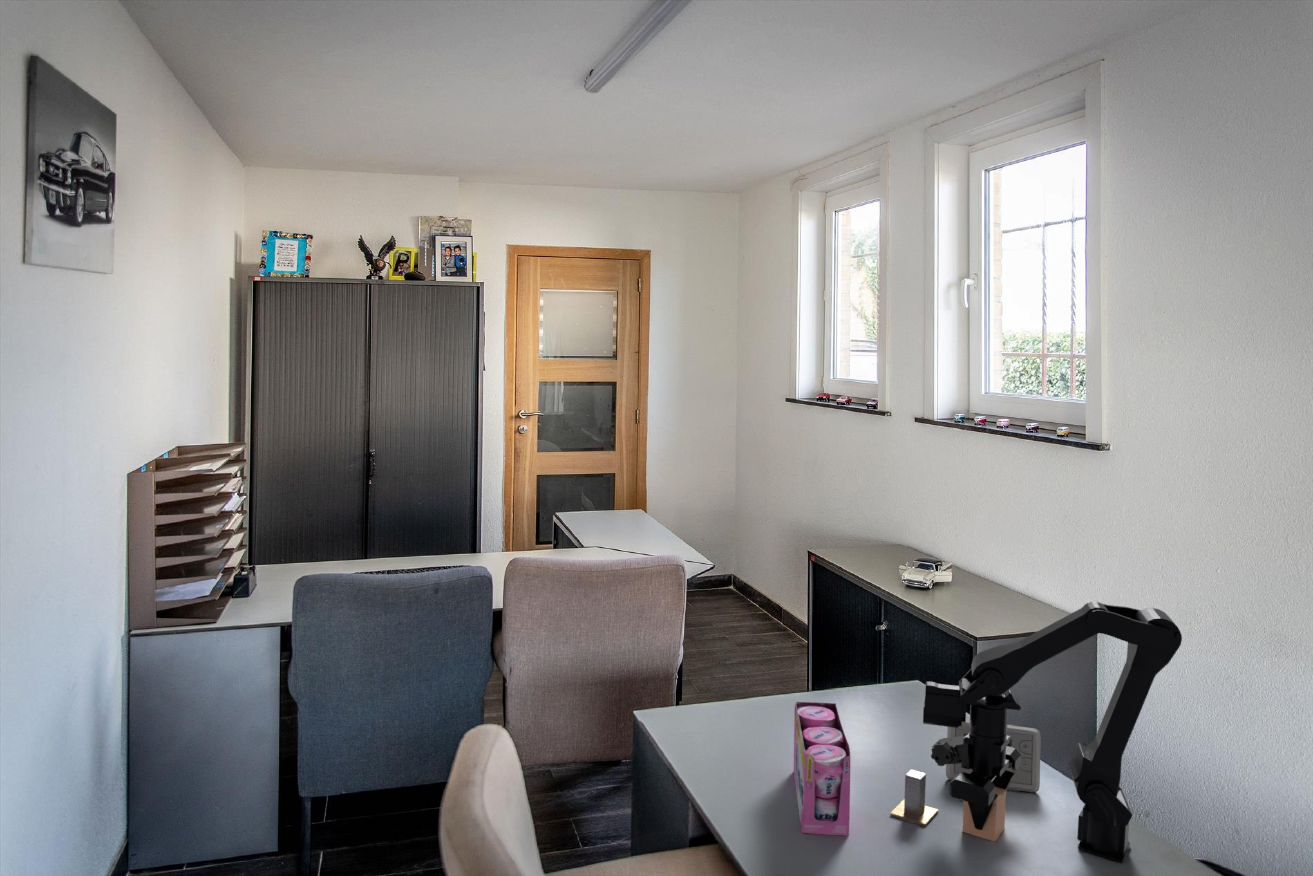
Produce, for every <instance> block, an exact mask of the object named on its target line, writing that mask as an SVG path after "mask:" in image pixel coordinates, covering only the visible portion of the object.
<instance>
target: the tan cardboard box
mask: <svg viewBox="0 0 1313 876" xmlns="http://www.w3.org/2000/svg"><path fill="white" fill-rule="evenodd" d="M995 794H997V795H998V798H997V800H996V802H995V804H994V806H993V808H992V810H991V812H990V814H989V817H988V819H987V821H986V823H985V825H984V827H983V829H982V830H978V829H976V828H975V826H974V823H973V819H972V815H971V811H970V808H969V805H968V802H967V801H964V800H963V810H962V812H963V815H962V832H963V833H967V834H970V835H973V836H976V837H979V838H983V839H985V840H987V841H988V840H989V841H991V842H996V841H997V840H998V838H999V836H1001V834H1002V833H1003V831H1004V829H1005V826H1006V823H1005V822H1006V805H1007V803H1006V802H1007V801H1006V799H1007V790H1005V789H1001V788H998V787H995Z"/></svg>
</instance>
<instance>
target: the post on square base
mask: <svg viewBox="0 0 1313 876" xmlns="http://www.w3.org/2000/svg"><path fill="white" fill-rule="evenodd" d="M926 779H927V773H925V772H923V771H918V770H916V769H910V770H909V771H908V772H907V773H905V777H904V798H903V799H902V801H901V802H899V803H898V804H897V806H896V807H895V808H894V809H893V810H892V811H891V812H890V814H889V815H890V816H891V817H894V818H897V819H900V820H903V821H906V822H909V823H912V824H915V825H918V826H922V827H925V828H926V826H927V825H929V823H930V822H931V821H932V820H933V818H934V817H935V816H936V815H937V814H938V813H939V809H938V808H934V807H930V806H928V805H926V787H927V786H926V783H927V780H926Z"/></svg>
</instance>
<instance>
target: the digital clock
mask: <svg viewBox="0 0 1313 876" xmlns="http://www.w3.org/2000/svg"><path fill="white" fill-rule="evenodd" d="M969 728H970V719H966V722H962V726H958V728H954V727H947V731H946V732H947V735H946V738H950V737H960V736H964V737H965V736H967V735H968V734H969ZM1007 735H1008V736H1010V742H1009V744H1008V745H1007V746H1009V747H1013V748H1016V749H1017V751H1018V752H1019V753H1020V754H1021V763H1020V766H1019V768H1018V769H1017V770H1012V767H1011V765H1012V763H1010V762H1009V766H1008V768H1007V769H1006V770H1007V771H1010V772H1013V773H1014V777H1013V778H1012V780H1011V782H1010V784H1009V786H1008V788H1007V790H1006V791H1012V790H1014V791H1013V792H1018V791H1022V792H1027V793H1028V792H1029V793H1037V792H1039V790H1040V787H1041V786H1040V785H1041V742H1042V741H1041V732H1040V730H1038V729H1037V728H1033V727H1026V726H1025V727H1024V726H1018V725H1017V724H1009V723H1007ZM961 772H965V773H969V774H970V773H971V772H972V769H965V768H961V763H958V764H945V776H946V778H947V779H948V780H950V781H952V780H953V779H954V778H955V776H956V775H958V774H959V773H961Z"/></svg>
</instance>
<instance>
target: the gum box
mask: <svg viewBox="0 0 1313 876" xmlns="http://www.w3.org/2000/svg"><path fill="white" fill-rule="evenodd" d="M837 707H838V706H837V703H836V702H835V703H831V702H811V701H796V702H795V704H794V721H793V724H794V725H793V726H794V727H793V728H794V729H793V730H794V731H793V777H794V784H795V793H796V798H797V799H796V800H797V806H798V815H799V822H800V827H801V828H800V829H801V833H802V834H812V835H813V834H814V835H815V834H817V835H825V836H827V835H829V836H845V837H848V836H849V835H850V818H851V817H850V812H851V811H850V810H851V748H850V743H849V742H848V740H847V737H846V735H845V732H844V728H843V725H842V721H841V719H840V715H839V709H838V708H837Z"/></svg>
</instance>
